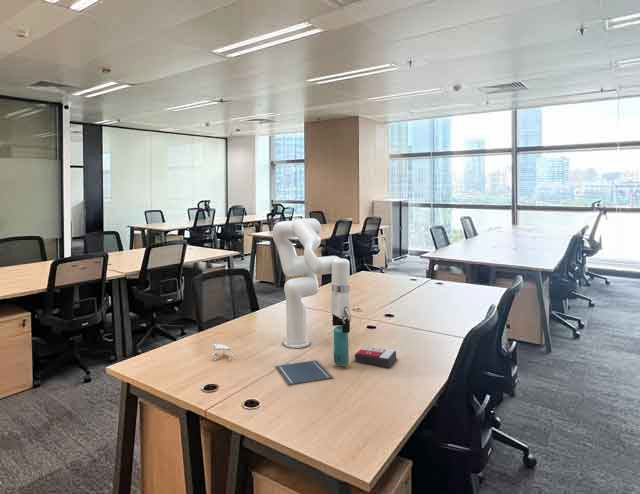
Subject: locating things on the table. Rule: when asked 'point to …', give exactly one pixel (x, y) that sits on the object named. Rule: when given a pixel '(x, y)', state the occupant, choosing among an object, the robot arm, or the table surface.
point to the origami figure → (221, 347)
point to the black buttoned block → (376, 356)
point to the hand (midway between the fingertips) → (341, 328)
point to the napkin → (303, 372)
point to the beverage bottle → (340, 345)
